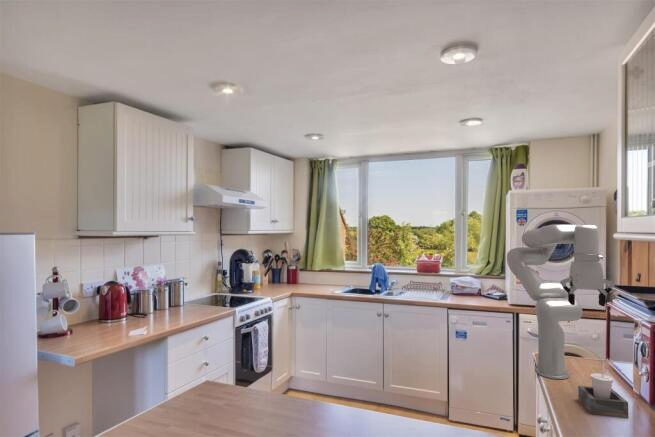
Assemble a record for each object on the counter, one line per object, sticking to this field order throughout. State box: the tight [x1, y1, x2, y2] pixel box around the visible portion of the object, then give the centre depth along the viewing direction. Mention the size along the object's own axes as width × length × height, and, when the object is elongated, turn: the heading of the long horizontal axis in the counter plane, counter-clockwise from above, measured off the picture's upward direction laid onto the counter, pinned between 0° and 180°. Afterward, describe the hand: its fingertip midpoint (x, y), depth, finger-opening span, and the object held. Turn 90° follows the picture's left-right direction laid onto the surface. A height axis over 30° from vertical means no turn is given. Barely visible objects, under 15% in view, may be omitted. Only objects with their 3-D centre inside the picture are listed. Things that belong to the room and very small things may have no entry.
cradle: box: [577, 385, 629, 419], centre depth 129 cm, size 11×11×5 cm
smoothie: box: [589, 363, 614, 399], centre depth 130 cm, size 6×6×14 cm
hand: (586, 304), depth 139 cm, fingers open, 9 cm apart
